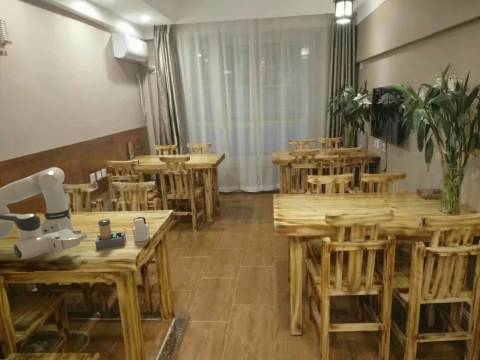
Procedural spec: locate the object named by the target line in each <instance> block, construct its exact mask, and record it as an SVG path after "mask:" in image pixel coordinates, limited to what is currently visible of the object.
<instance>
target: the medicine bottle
mask: <svg viewBox="0 0 480 360" xmlns="http://www.w3.org/2000/svg"><path fill="white" fill-rule="evenodd" d="M133 223H134V227H133V228H132V234H133V241H134V243H138V242H148V241H149V239H150V233H151V232H150V227H149V225H150V224H148V223H147V222H146V217H144V216H138V217H135V218H134V219H133Z"/></svg>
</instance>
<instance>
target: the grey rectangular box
mask: <svg viewBox="0 0 480 360" xmlns="http://www.w3.org/2000/svg"><path fill="white" fill-rule="evenodd" d="M111 234H112V239H107V240H101V235H100V234H98V235H97V238H96V240H95V241H94V242H95V243H94V244H95V249H96V250H100V249H106V248H113V247H114V248H115V247H120V246H125V245H126V239H127V236H126V231H125V230H122V231H117V236H119V238H113V235H114V232H111Z"/></svg>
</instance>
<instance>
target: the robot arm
mask: <svg viewBox="0 0 480 360" xmlns="http://www.w3.org/2000/svg"><path fill="white" fill-rule="evenodd" d="M65 177H66V176H65V172H64V170H62V169H61V168H59V167H55V166H54V167H53V166H52V167H50V168H46V169H44V170H41V171H39V172H37V173H34V174H32V175H28V176H27V177H24V178H21V179H18V180H16V181H13V182H10V183H8V184H6V185H4V186H2V187H0V239H5V238H6V237H8V236H10V235H11V234H12V232H13V231H14V229H15V226H16V230H17V234H18V242H16V243H15V244H14V245H13V251H14V255H15V256H16V257H17V258H18V259H20V260H27V259H31V258H35V257H38V256H41V255H44V254H49V253H51V252H52V253H53V252H56V253H62V252H64V251H65V250H69V249H72V248H75V247H77V246H79V245H81V241H82V240H84V239H87V238H88V235H87V234H86V233H84V234H82V230H81V229H76V228H75V225H74V224H73V221H72V219H71V216H72V215H71V209H70V208H69V204H68V199H67V198H68V197H67V195H66V193H65V190H64V188H63V182H64V181H65ZM40 193H42V195H43V198H44V201H45V206H46V211H45V213H44V215H43V218H44V219H43V220H42V221H41V217H40V216H39V215H37V214H35V213H18V212H12V211H11V210H10V209H9V208H8V205H10V204H14V203H19V202H20V201H23V200H25V199H29V198H31V197H34V196H37V195H39V194H40ZM80 234H82V235H80Z"/></svg>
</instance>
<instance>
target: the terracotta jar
mask: <svg viewBox="0 0 480 360" xmlns="http://www.w3.org/2000/svg"><path fill="white" fill-rule="evenodd" d="M98 229H99V235H101V240H107V239H112V234H111V233H112V228H111V220H110V219H109V218H108V219H107V218H105V219H101V220H99V221H98Z"/></svg>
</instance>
